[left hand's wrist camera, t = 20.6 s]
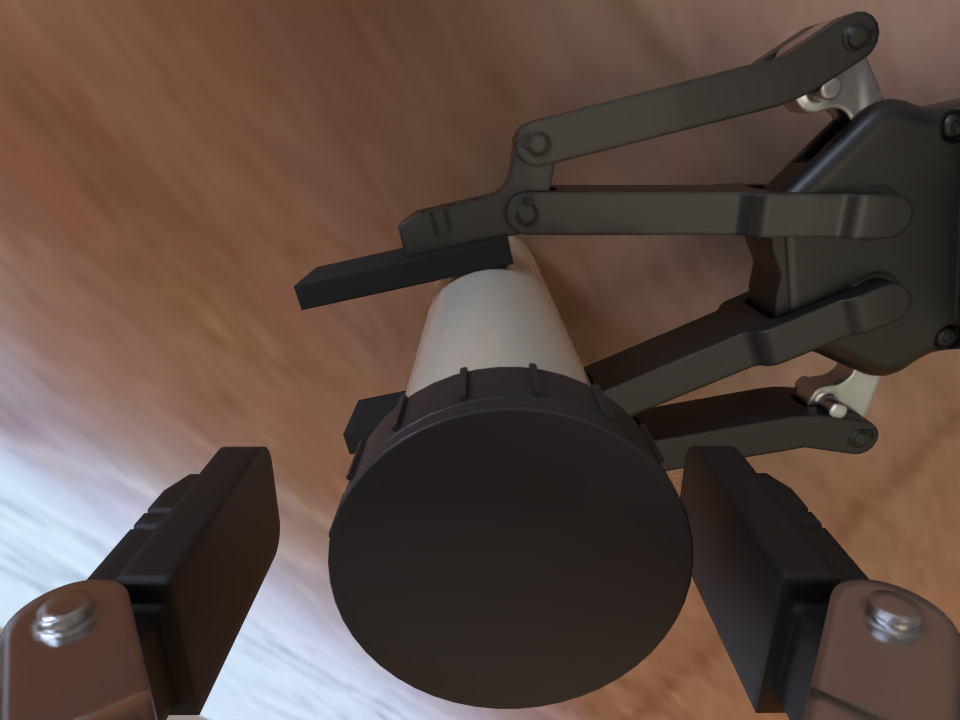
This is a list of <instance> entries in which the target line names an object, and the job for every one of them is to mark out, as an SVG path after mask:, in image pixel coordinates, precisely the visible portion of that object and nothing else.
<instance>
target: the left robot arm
mask: <svg viewBox="0 0 960 720" xmlns="http://www.w3.org/2000/svg"><path fill="white" fill-rule="evenodd" d="M680 499H681V501H682V503H683V505H684V506H685V508H686V510H687V512H688V516H689V518H688V520H689V523H690V528H691V534H692V539H693V568H692V575H691V576H692V578H693V580H694V582H695V584H696V586H697V589H698V591H699V593H700V595H701V597H702V599H703V601H704V603H705V606H706V608H707V610H708V612H709V614H710V616H711V618H712V621H713V623H714V625H715V627H716V629H717V631H718V633H719V635H720V638H721V640H722V642H723V644H724V646H725V648H726V650H727V652H728V655H729V657H730V659H731V661H732V663H733V665H734V667H735V669H736V672H737V674H738V676H739V678H740V680H741V682H742V684H743V686H744V689H745V691H746V693H747V695H748V697H749V699H750V701H751V703H752V706H753V708H754V710H755V712H756V713H787V715H788V717H789V719H790V720H960V634H959V633H958V631H957V628H956V627H955V625H954V624H953V623H952V621H951V620H950V619H949V618H948V617H947V616H946V615H945V614H944V613H943V612H942V611H941V610H940V609H938V608H937V607H936V606H935V605H933V604H932V603H930V602H929V601H927V600H926V599H924V598H922V597H920V596H919V595H917V594H915V593H913V592H911V591H908V590H906V589H904V588H901V587H898V586H896V585H892V584H889V583H885V582H880V581H875V580H869V579H868V578H867V576H866V575H865V574H864V573H863V572H862V571H861V569H860V568H859V567H858V566H857V565H856V564H855V562H854V561H853V560H852V559H851V558H850V557H849V555H848V554H847V553H846V552H845V551H844V550H843V548H842V547H841V546H840V545H839V544H838V543H837V541H836V540H835V539H834V538H833V537H832V536H831V534H830V533H829V532H828V531H827V530H826V529H825V528H822V526H821V523H820V522H819V520H818V519H817V518H816V517H815V516H814V515H813V513H812V512H808V508H807V506H806V505H805V504H804V503H803V502H802V501H801V499H800V498H799V497H798V496H797V495H796V494H795V492H794V491H793V490H792V489H791V488H789V487H787V486H786V485H784V484H783V483H781V482H779V481H778V480H776V479H775V478H773V477H771V476H770V475H768V474H767V473H756V472H755V470H754V469H753V468H752V467H751V465H750V464H749V463H748V462H747V460H746V459H745V458H744V457H743V455H742V454H741V453H740V452H739V450H738V449H737V448H736V447H734V446H691V447H689V449H688V451H687V453H686V457H685V464H684V472H683V479H682V487H681V494H680ZM279 535H280V520H279V512H278V505H277V497H276V490H275V482H274V475H273V468H272V460H271V456H270V453H269V450H268V449H267V448H266V447H222V448H220V449H219V450H218V452H217V453H216V454H215V455H214V457H213V458H212V459H211V460H210V462H209V463H208V464H207V465H206V466H205V468H204V469H203V470H202V471H201V473H200V474H190V475H188V476H186V477H185V478H183V479H182V480H180V481H178V482H177V483H175V484H174V485H172V486H170V487H169V488H167V489H166V490H164V491H163V492H162V494H161V495H160V496H159V497H158V498H157V499H156V500H155V502H154V503H153V504H152V505H151V506H150V507H149V509H148V513H144V514H143V515H142V517H141V518H140V519H139V520H138V521H137V522H136V524H135V525H134V529H130V530H129V532H128V533H127V534H126V535H125V536H124V537H123V539H122V540H121V541H120V542H119V543H118V544H117V545H116V547H115V548H114V549H113V550H112V551H111V552H110V554H109V555H108V556H107V557H106V558H105V559H104V560H103V562H102V563H101V564H100V565H99V566H98V567H97V569H96V570H95V571H94V572H93V573H92V574H91V575H90V577H89V578H88V579H87V580H85V581H80V582H75V583H71V584H68V585H64V586H62V587H59V588H56V589H54V590H52V591H49V592H47V593H45V594H43V595H41V596H40V597H38V598H36V599H34V600H33V601H31V602H30V603H28V604H27V605H25V606H24V607H23V608H21V609H20V610H19V611H18V612H17V613H16V614H15V615H14V616H13V617H12V618H11V619H10V620H9V621H8V623H7V624H6V625H5V627H4V628H3V631H2V633H1V634H0V720H166V719H167V717H168V715H200V713H201V710H202V708H203V706H204V704H205V702H206V700H207V698H208V696H209V694H210V692H211V689H212V687H213V685H214V683H215V681H216V679H217V677H218V675H219V673H220V671H221V668H222V666H223V664H224V662H225V660H226V658H227V656H228V654H229V652H230V650H231V647H232V645H233V643H234V641H235V639H236V637H237V635H238V633H239V631H240V629H241V626H242V624H243V622H244V620H245V618H246V616H247V614H248V612H249V610H250V608H251V606H252V603H253V601H254V599H255V597H256V595H257V593H258V591H259V589H260V587H261V585H262V582H263V580H264V578H265V576H266V574H267V572H268V570H269V568H270V566H271V564H272V561H273V559H274V557H275V555H276V552H277V548H278V543H279Z"/></svg>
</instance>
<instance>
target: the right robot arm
mask: <svg viewBox="0 0 960 720" xmlns="http://www.w3.org/2000/svg"><path fill="white" fill-rule="evenodd" d="M878 36H879V28H878V23H877V21H876V20H875V19H874V17H873V16H872V15H870V14H868V13H866V12H854V13H851V14H848V15H845V16H841V17H838V18H835V19H832V20H828V21H825V22H822V23H819V24H816V25H813V26H810V27H807V28H805V29H803V30H801V31H799V32H798V33H796V34H795V35H793V36H792V37H790V38H789V39H787V40H786V41H784V42H783V43H782V44H780V45H779V46H777V47H776V48H774V49H773V50H771V51H770V52H768V53H767V54H765V55H764V56H762V57H761V58H759V59H758V60H756V61H755V62H753V63H752V64H750V65H746V66H742V67H738V68H735V69H731V70H727V71H723V72H719V73H715V74H712V75H708V76H704V77H700V78H696V79H692V80H688V81H685V82H681V83H677V84H673V85H669V86H665V87H662V88H658V89H654V90H650V91H646V92H642V93H639V94H635V95H631V96H627V97H623V98H619V99H615V100H612V101H608V102H604V103H600V104H596V105H592V106H589V107H585V108H581V109H577V110H573V111H569V112H566V113H562V114H558V115H554V116H550V117H546V118H542V119H539V120H535V121H531V122H527V123H525V124H523V125H521V126H520V127H519V128H518V129H517V130H516V131H515V133H514V136H513V139H512V143H513V145H512V152H511V159H510V166H509V172H508V176H507V179H506V181H505V182H504V184H503V185H502V186H501V187H500V188H499V189H498V190H496V191H495V192H492V193H490V194H486V195H481V196H477V197H473V198H468V199H464V200H460V201H455V202H451V203H447V204H442V205H438V206H434V207H429V208H425V209H420V210H417V211H415V212H414V213H412V214H411V215H410V216H408V217H407V218H405V219H404V220H403V221H402V222H401V223H400V225H399V226H398V229H399V232H400V236H401V240H402V244H403V248H401V249H396V250H392V251H387V252H383V253H378V254H374V255H369V256H365V257H360V258H356V259H351V260H347V261H343V262H338V263H334V264H329V265H325V266H320V267H316V268H315V269H314V270H313V271H311V272H310V273H309V274H308V275H307V276H306V277H304V278H303V279H302V280H301V281H300V282H298V283H297V284H296V285H295V286H294V288H295V291H296V294H297V297H298V300H299V303H300V306H301V309H302V310H304V309H309V308H314V307H318V306H323V305H327V304H332V303H336V302H341V301H345V300H350V299H355V298H359V297H364V296H368V295H373V294H377V293H382V292H387V291H391V290H396V289H400V288H405V287H409V286H414V285H418V284H423V283H428V282H432V281H437V280H441V279H446V278H450V277H455V276H460V275H464V274H469V273H473V272H477V271H482V270H487V269H491V268H496V267H501V266H505V265H510V264H513V259H512V254H511V249H510V244H509V239H508V236H512V235H517V234H525V235H743V236H745V239H746V242H747V245H748V247H749V250H750V253H751V255H752V258H753V267H752V272H751V277H750V282H749V291H748V292H746V293H743V294H741V295H739V296H736V297H734V298H732V299H729V300H727V301H725V302H724V303H722V304H721V305H720V307H719V309H718V310H717V311H715V312H713V313H711V314H708V315H706V316H704V317H701V318H699V319H697V320H694V321H692V322H690V323H687V324H685V325H683V326H680V327H678V328H676V329H673V330H671V331H668V332H666V333H664V334H661V335H659V336H657V337H654V338H652V339H650V340H647V341H645V342H643V343H640V344H638V345H636V346H633V347H631V348H629V349H626V350H624V351H621V352H619V353H617V354H614V355H612V356H610V357H607V358H605V359H603V360H600V361H598V362H596V363H593V364H591V365H589V366H586V367H584V369H585V372H586V374H587V376H588V378H589V381H590V383H591V385H593V384H594V383H596V384H598V385H600V387H601V389H602V391H603V393H604V394H605V395H606V396H607V397H609V398H610V399H611V400H613V401H614V402H615V403H617V404H618V405H619V406H621V407H622V408H623V409H624V410H625V411H626V412H627V413H628V414H629V415H630V416H631V417H632V418H633V419H634V420H635V422H636V423H637V425H638V426H639V425H640V424H642V423H644V425H645V426H646V428H647V429H648V431H649V433H650V435H651V436H652V438H653V440H654V442H655V443H656V445H657V447H658V449H659V450H660V452H661V454H662V456H663V457H664V459H665V461H664V462H662V463H661V464H662V466H663V468H664V470H665V471H669V470H675V469H681V468H684V464H685V457H686V453H687V451H688V449H689V447H691V446H734V447H736V448H737V449H738V450H739V452H740V453H741V454H742V455H743V457H744V458H745V457H751V456H756V455H762V454H768V453H774V452H780V451H786V450H791V449H797V448H803V447H807V448H814V449H821V450H828V451H835V452H843V453H850V454H861V453H863V452H866V451H868V450H869V449H871V448H872V447H873V446H874V444H875V443H876V441H877V439H878V431H877V428H876V427H875V426H874V425H873V424H872V423H871V422H869V421H868V420H867V419H865V415H866V413H867V410H868V408H869V405H870V403H871V400H872V398H873V395H874V393H875V391H876V388H877V386H878V383H879V381H880V378H881V376H885V375H890V374H893V373H896V372H899V371H900V370H902V369H904V368H906V367H907V366H908V365H910V364H911V363H913V362H914V361H916V360H917V359H919V358H921V357H923V356H925V355H927V354H929V353H932V352H935V351H939V350H948V349H960V98H958V99H954V100H949V101H945V102H941V103H936V104H932V105H928V106H918V105H914V104H911V103H909V102H907V101H903V100H898V99H886V100H884V99H883V96H882V94H881V91H880V89H879V86H878V84H877V82H876V79H875V77H874V74H873V72H872V69H871V67H870V64H869V62H868V60H867V56H868V55H869V54H870V53H871V52H872V51H873V49H874V47H875V45H876V44H877V41H878ZM779 105H784V106H785V107H786V109H787V110H789V111H790V112H793V113H817V112H820V111H827V112H828V113H829V114H830V115H831V116H832V118H833V120H832V121H831V122H830V123H829V124H828V125H827V126H826V127H825V128H824V129H823V130H822V131H821V132H820V133H819V134H818V135H817V136H816V137H815V138H814V139H813V140H812V141H811V142H810V143H808V144H807V145H806V146H805V147H804V148H803V149H802V150H801V151H800V152H799V153H798V154H797V155H796V156H795V157H794V158H793V159H792V160H791V161H790V162H789V163H788V164H787V165H786V166H785V167H784V168H783V169H782V170H781V171H780V172H779V173H778V174H777V175H776V176H775V177H774V178H773V179H772V180H771V181H770V182H769V183H768V184H716V185H551V182H552V176H553V170H554V163H557V162H561V161H565V160H568V159H572V158H576V157H580V156H584V155H588V154H592V153H596V152H600V151H604V150H608V149H612V148H616V147H620V146H624V145H628V144H631V143H635V142H639V141H643V140H647V139H651V138H655V137H659V136H663V135H667V134H671V133H675V132H679V131H683V130H687V129H691V128H695V127H698V126H702V125H706V124H710V123H714V122H718V121H722V120H726V119H730V118H734V117H738V116H742V115H746V114H750V113H754V112H758V111H762V110H765V109H769V108H773V107H776V106H779ZM811 351H814V352H816V353H818V354H820V355H823V356H825V357H827V358H829V359H832V360H834V361H836V362H838V363H837V365H836V366H835V367H834V369H833V370H831V371H830V372H828V373H826V374H824V375H818V376H811V377H806V376H803V377H800V378H799V379H798V380H797V381H796V383H795V388H792V387H767V388H759V389H753V390H747V391H742V392H736V393H731V394H725V395H719V396H714V397H708V398H703V399H697V400H691V401H686V402H680V403H675V404H669V405H664V406H658V407H655V406H657V405H660V404H662V403H665V402H667V401H669V400H672V399H674V398H677V397H679V396H682V395H684V394H687V393H689V392H692V391H694V390H696V389H699V388H701V387H704V386H706V385H709V384H711V383H714V382H716V381H719V380H721V379H723V378H726V377H728V376H731V375H733V374H736V373H738V372H741V371H743V370H745V369H748V368H750V367H753V366H758V365H763V366H773V365H778V364H781V363H784V362H786V361H789V360H791V359H794V358H796V357H799V356H801V355H803V354H806V353H808V352H811ZM405 393H406V391H401V392H396V393H391V394H387V395H382V396H377V397H372V398H367V399H362V400H358V403H357V405H356V407H355V409H354V412H353V414H352V416H351V418H350V420H349V423H348V425H347V427H346V429H345V432H344V434H343V435H344V438H345V441H346V444H347V447H348V450H349V453H350V454H354V453H356V450H357V447H358V445H359V443H360V441H361V439H363V440H365V441H367V439H368V438H369V436H370V434H371V433H372V432H373V431H374V429H375V428H376V427H377V426H378V424H379V423H380V422H381V421H382V419H383V418H385V417H386V416H387V415H388V414H389V413H390V412H391V411H392V410H393V409H394V408H395V407H396V406H397V405H398V402H399V398H400V397H401V396H402V395H404V394H405Z"/></svg>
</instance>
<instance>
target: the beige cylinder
mask: <svg viewBox="0 0 960 720" xmlns="http://www.w3.org/2000/svg"><path fill="white" fill-rule="evenodd" d="M508 239H509V244H510V249H511V254H512V259H513V264H510V265H505V266H501V267H496V268H491V269H487V270H482V271H477V272H473V273H469V274H464V275H460V276H455V277H450V278H446V279H441V280H437V281H436V284H435V288H434V292H433V295H432V299H431V302H430V306H429V310H428V313H427V317H426V321H425V324H424V328H423V331H422V335H421V339H420V342H419V346H418V350H417V353H416V357H415V360H414V364H413V368H412V371H411V375H410V378H409V382H408V386H407V389H406V393H405V394H406V396H407V397H410V396H411V395H412V394H414V393H415V392H417V391H419V390H421V389H423V388H425V387H427V386H428V385H430V384H432V383H434V382H437V381H439V380H442V379H445V378H447V377H450V376H452V375H455V374H460V368H463V367H467V369H468V371H472V370H476V369H484V368H492V367H526V368H529V363H534V364H536V365H537V369H542V370H546V371H550V372H554V373H558V374H562V375H566V376H568V377H571V378H573V379H576V380H578V381H581V382H583V383H586V384H587V385H589V386H591V387H592V385H591V383H590V381H589V378H588V376H587V374H586V372H585V369H584V367H583V365H582V363H581V361H580V358H579V356H578V354H577V352H576V349H575V347H574V345H573V343H572V340H571V338H570V336H569V334H568V331H567V329H566V327H565V325H564V322H563V320H562V318H561V316H560V313H559V311H558V309H557V307H556V305H555V302H554V300H553V298H552V296H551V293H550V291H549V289H548V287H547V284H546V282H545V280H544V278H543V275H542V273H541V271H540V269H539V266H538V264H537V262H536V260H535V258H534V256H533V254H532V252H531V251H530V249H529V248H528V247H527V246H526V245H525V244H524V243H523V242H522V241H521V240H520V239H518V238H517V237H515V236H513V235H512V236H508Z"/></svg>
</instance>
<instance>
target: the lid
mask: <svg viewBox="0 0 960 720" xmlns="http://www.w3.org/2000/svg"><path fill="white" fill-rule="evenodd" d="M664 461H665V459H664V457H663V456H662V454H661V452H660V450H659V449H658V447H657V445H656V443H655V442H654V440H653V438H652V436H651V435H650V433H649V431H648V429H647V428H646V426H645V425H644V423H642V424H640V425H639V426H638V425H637V423H636V422H635V420H634V419H633V418H632V417H631V416H630V415H629V414H628V413H627V412H626V411H625V410H624V409H623V408H622V407H621V406H619V405H618V404H617V403H615V402H614V401H613V400H611V399H610V398H609V397H607V396H606V395H605V394H604V393H603V391H602V389H601V387H600V385H598V384H596V383H594V384H593V385H592V387H591V386H589V385H587V384H586V383H583V382H581V381H578V380H576V379H573V378H571V377H568V376H566V375H562V374H558V373H554V372H550V371H546V370H542V369H537V365H536V364H534V363H529V368H526V367H492V368H484V369H476V370H472V371H468V369H467V367H463V368H460V374H455V375H452V376H450V377H447V378H445V379H442V380H439V381H437V382H434V383H432V384H430V385H428V386H427V387H425V388H423V389H421V390H419V391H417V392H415V393H414V394H412V395H411V396H410V397H407V396H406V394H404V395H402V396H401V397H400V398H399V402H398V405H397V406H396V407H395V408H394V409H393V410H392V411H391V412H390V413H389V414H388V415H387V416H386V417H385V418H383V419H382V421H381V422H380V423H379V424H378V426H377V427H376V428H375V429H374V431H373V432H372V433H371V434H370V436H369V438H368V439H367V441H365V440H363V439H361V441H360V443H359V445H358V447H357V450H356V453H355V455H354V458H353V461H352V463H351V466H350V468H349V471H348V474H347V476H346V479H348V480H349V483H348V485H347V488H346V491H345V493H344V494H343V496H342V499H341V502H340V504H339V507H338V510H337V512H336V515H335V518H334V521H333V523H332V526H331V529H330V531H329V537H330V542H329V555H328V567H329V577H330V584H331V588H332V592H333V596H334V599H335V603H336V605H337V607H338V610H339V612H340V614H341V617H342V619H343V621H344V623H345V624H346V626H347V627H348V629H349V631H350V632H351V634H352V636H353V637H354V638H355V640H356V641H357V642H358V643H359V644H360V646H361V647H362V648H363V649H364V650H365V652H366V653H367V654H368V655H369V656H371V657H372V658H373V659H374V660H375V661H376V662H377V663H378V664H379V665H380V666H381V667H383V668H384V669H386V670H387V671H388V672H390V673H391V674H392V675H394V676H395V677H396V678H398V679H400V680H402V681H403V682H405V683H407V684H409V685H411V686H412V687H414V688H416V689H418V690H421V691H423V692H425V693H428V694H430V695H432V696H435V697H438V698H442V699H445V700H448V701H451V702H455V703H460V704H465V705H470V706H475V707H484V708H495V709H520V708H530V707H540V706H545V705H550V704H555V703H560V702H564V701H567V700H570V699H574V698H577V697H580V696H583V695H585V694H588V693H590V692H592V691H595V690H597V689H600V688H602V687H604V686H605V685H607V684H609V683H611V682H613V681H614V680H616V679H618V678H620V677H621V676H623V675H624V674H625V673H627V672H628V671H630V670H631V669H632V668H634V667H635V666H637V665H638V664H639V663H640V662H641V661H642V660H643V659H644V658H646V657H647V656H648V655H649V654H650V653H651V652H652V651H653V650H654V649H655V648H656V646H657V645H658V644H659V643H660V642H661V641H662V640H663V638H664V637H665V636H666V634H667V633H668V631H669V630H670V628H671V627H672V625H673V624H674V622H675V621H676V619H677V617H678V615H679V613H680V611H681V609H682V606H683V604H684V602H685V599H686V596H687V593H688V589H689V586H690V582H691V575H692V568H693V539H692V534H691V528H690V523H689V520H688V518H689V516H688V512H687V510H686V508H685V506H684V505H683V503H682V501H681V499H680V497H679V495H678V493H677V492H676V490H675V488H674V486H673V484H672V482H671V480H670V479H669V477H668V475H667V473H666V471H665V470H664V468H663V466H662V464H661V463H662V462H664Z"/></svg>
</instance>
